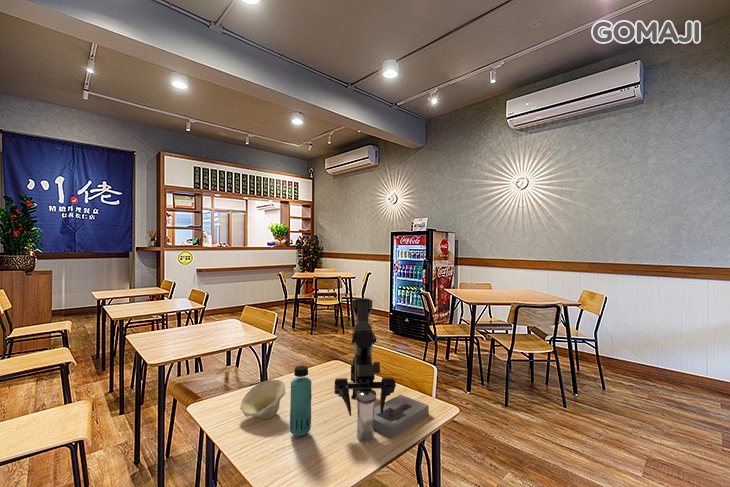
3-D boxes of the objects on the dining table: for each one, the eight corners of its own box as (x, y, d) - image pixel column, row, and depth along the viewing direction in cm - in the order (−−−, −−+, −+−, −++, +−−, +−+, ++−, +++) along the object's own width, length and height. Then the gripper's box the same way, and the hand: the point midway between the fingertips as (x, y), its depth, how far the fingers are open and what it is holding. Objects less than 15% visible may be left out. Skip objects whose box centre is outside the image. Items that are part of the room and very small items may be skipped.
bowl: (231, 416, 109) (232, 385, 109) (269, 402, 119) (270, 374, 119) (255, 434, 99) (255, 400, 99) (294, 417, 109) (294, 386, 109)
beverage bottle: (292, 443, 94) (293, 372, 95) (286, 431, 100) (287, 365, 100) (314, 437, 97) (315, 369, 98) (307, 426, 103) (308, 362, 103)
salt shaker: (353, 441, 96) (353, 396, 96) (357, 430, 101) (358, 387, 102) (373, 444, 94) (374, 398, 95) (377, 433, 100) (377, 389, 100)
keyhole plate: (391, 438, 97) (391, 428, 98) (362, 423, 106) (362, 413, 106) (428, 414, 112) (428, 405, 112) (400, 402, 120) (400, 394, 120)
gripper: (335, 352, 102) (334, 405, 91) (395, 351, 103) (401, 403, 92) (334, 368, 109) (334, 419, 98) (390, 368, 111) (396, 417, 100)
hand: (366, 414), depth 97 cm, fingers open, 9 cm apart
